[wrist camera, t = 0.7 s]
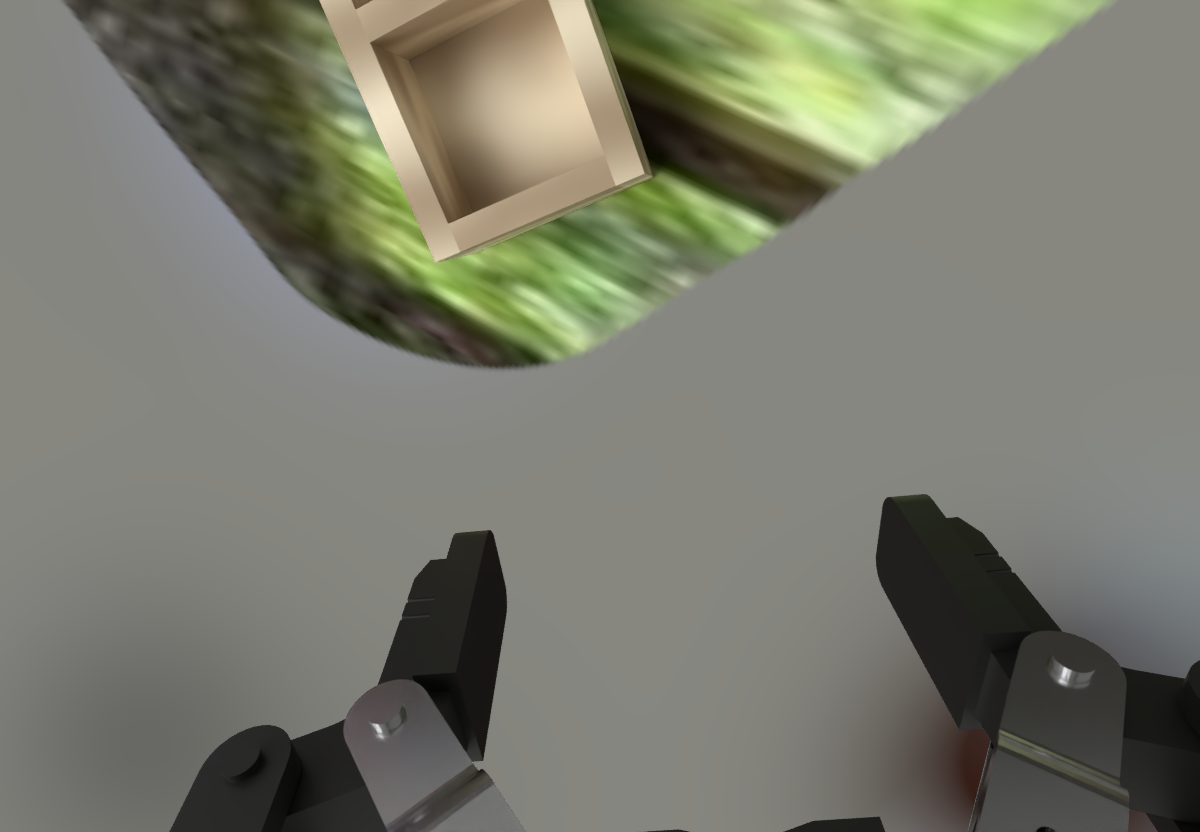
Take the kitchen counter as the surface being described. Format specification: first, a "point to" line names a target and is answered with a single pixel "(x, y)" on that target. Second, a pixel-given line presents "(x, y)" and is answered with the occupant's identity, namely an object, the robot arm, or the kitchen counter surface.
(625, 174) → the wooden tray
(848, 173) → the kitchen counter surface
